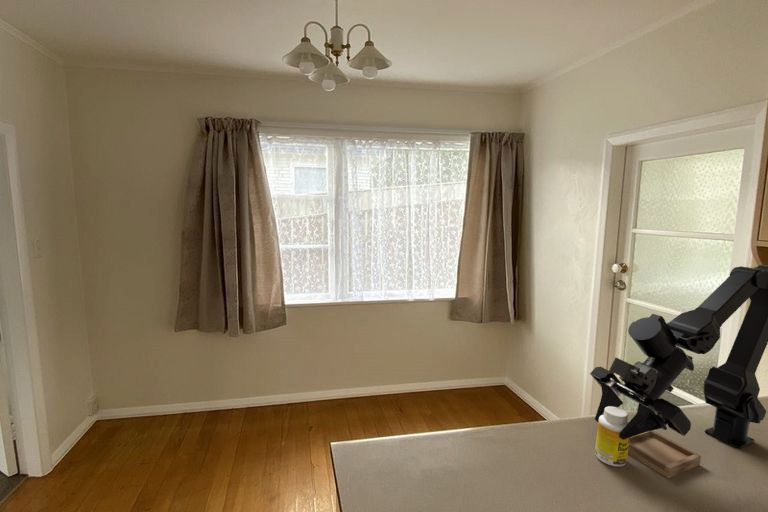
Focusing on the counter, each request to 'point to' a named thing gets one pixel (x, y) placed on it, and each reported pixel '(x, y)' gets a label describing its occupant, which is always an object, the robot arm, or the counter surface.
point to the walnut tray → (662, 454)
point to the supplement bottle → (612, 437)
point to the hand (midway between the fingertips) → (608, 429)
